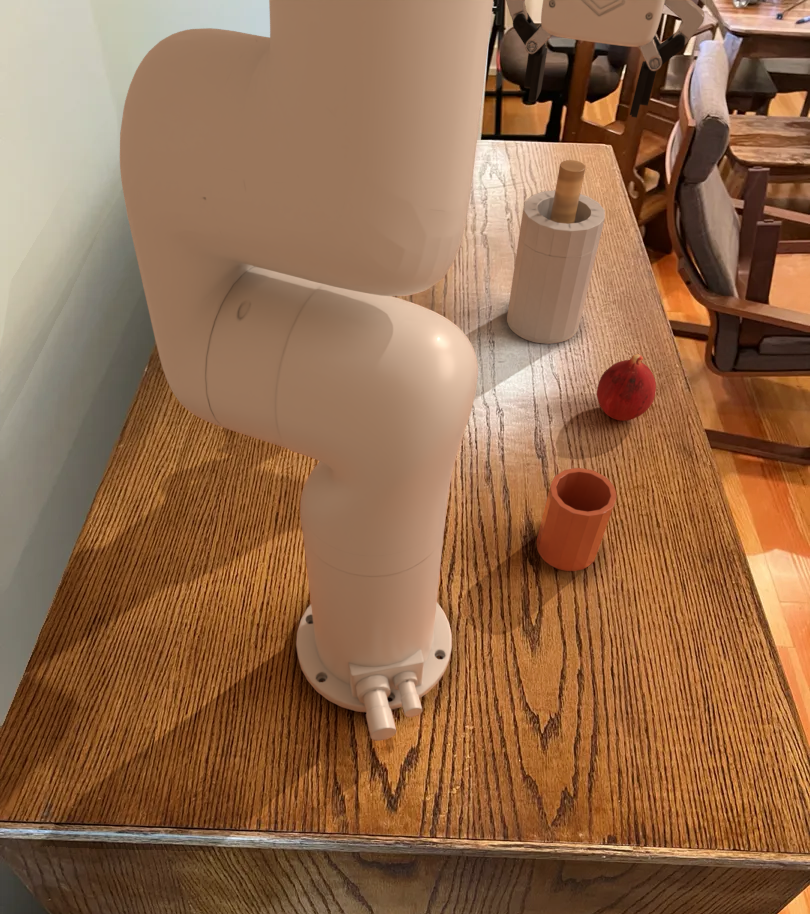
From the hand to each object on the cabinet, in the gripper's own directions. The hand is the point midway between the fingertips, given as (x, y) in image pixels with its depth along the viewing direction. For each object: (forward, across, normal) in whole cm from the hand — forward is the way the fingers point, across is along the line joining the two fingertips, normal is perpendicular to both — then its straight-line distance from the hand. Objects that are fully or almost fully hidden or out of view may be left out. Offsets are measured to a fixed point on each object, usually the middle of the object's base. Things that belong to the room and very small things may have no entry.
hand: (583, 104), depth 73 cm
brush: (+24, 0, +1) cm, 24 cm away
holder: (+25, +8, -34) cm, 43 cm away
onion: (+25, +11, -14) cm, 30 cm away
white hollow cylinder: (+24, 0, +1) cm, 25 cm away
